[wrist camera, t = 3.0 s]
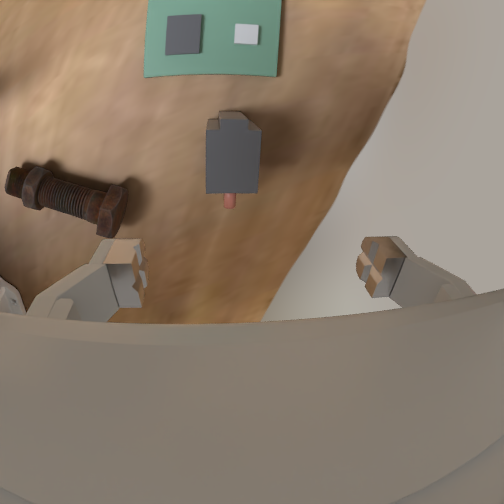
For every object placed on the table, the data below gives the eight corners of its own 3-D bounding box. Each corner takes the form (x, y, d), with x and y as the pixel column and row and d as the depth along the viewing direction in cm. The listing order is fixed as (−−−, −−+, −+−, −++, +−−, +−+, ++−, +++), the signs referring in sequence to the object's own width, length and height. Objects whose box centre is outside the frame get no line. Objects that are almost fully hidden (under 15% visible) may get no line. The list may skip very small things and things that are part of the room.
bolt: (28, 163, 25) (131, 193, 29) (15, 203, 25) (118, 237, 29) (5, 152, 19) (123, 185, 23) (-9, 199, 19) (106, 239, 23)
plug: (246, 186, 29) (255, 216, 23) (207, 186, 28) (206, 216, 23) (250, 111, 25) (262, 120, 19) (208, 111, 24) (206, 119, 18)
